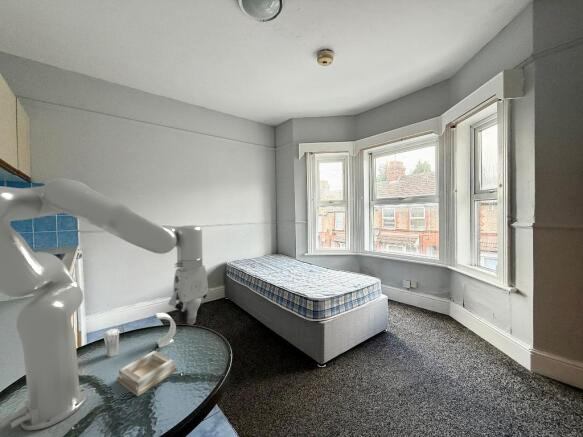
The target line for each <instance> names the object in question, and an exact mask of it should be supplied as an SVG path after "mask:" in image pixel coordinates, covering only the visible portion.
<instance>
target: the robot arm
mask: <svg viewBox="0 0 583 437" xmlns="http://www.w3.org/2000/svg"><path fill="white" fill-rule="evenodd" d="M60 214H66V215H68V216H70V217H73V218H75V219H78V220H81V221H83V222H85V223H88V224H90V225H92V226H95V227H98V228H100V229H102V230H104V231H106V232H107V233H110V234H111V235H113V236H116V237H117V238H120V239H121V240H123V241H125V242H127V243H129V244H131V245H133V246H136V247H138V248H142V249H144V250H146V251H149V252H151V253H153V254H157V255H158V254H160V255H163V254H167V253H169V252H172V250H173V249H174V248H175V247H176V255H177V256H176V259H177V260H176V263H174V264H173V267H174V268H177V269H175V273H174V279H173V288H172V291H173V295H172V296H171V298H170V300H169V301H168V305H169V306H171V307H172V308H175V309H176V310H178V320H179V322H181V323H184V324H186V323H187V310H185V309H186V305H187V302H189V301H192V300H194V299H196V298H199V297H201V304H200V306H199V308H198V310H197V315H198V316H203V311H204V310H203V303H205V299H206V297H207V295H208V294H209V293H210V291H211V289H210V287H209V286H208V285H209V284H208V276H207V270H206V267H205V265H203V230H202V229H203V228H202V227H201V226H198V225H182V226H173V225H160V224H157V223H155V222H152V221H151V220H149V219H146V218H144V217H143V216H141V215H139V214H137V213H135V212H134V211H133V210H132V209H130V208H129V207H128V206H127V205H126V204H125V203H123V202H120V201H118V200H116V199H114V198H112V197H109V196H107V195H105V194H103V193H100V192H98V191H96V190H94V189H92V188H91V187H89V186H88V185H87V184H85V183H84V182H81V181H78V180H73V179H70V178H65V177H64V178H63V177H60V178H55V179H52V180H49V181H47V182H46V183H45V184H44V185H40V186H33V187H32V186H31V187H24V188H21V187H10V186H0V292H1V293H2V294H3V295H5V296H7V297H12V298H21V297H26V296H28V295H31V294H32V295H33V296H34V298H33V299H30V300H29V301H28V302H27V303H26V304H25V305H23V307H22V308H21V310H20V311H19V312H18V315H17V316H16V324H15V325H16V326H15V327H16V330H17V333H18V336H19V338H20V341H21V345H22V351H23V352H22V353H23V358H24V368H25V379H26V389H27V400H26V401H25V402H24V403H23V404H24V406H23V407H21V408H19V409H18V411H17V412H15V413H12V414H10V415H8V416H6V417H4V418H2V419H0V429H1V430H3V429H4V428H6V427H8V426H10V428H11V429H13V428H16V427H18V426H19V425H20V427H21V428H22V429H23V430H25V431H39V430H42V429H45V428H49V427H52V426H53V425H55V424H57V423H60V422H62V421H64V420H65V419H67V418H69V417H70V416H72V415H73V414H74V413H75V412H76V411H78V410H79V409H80V408H81V407H83V405H84V404H85V402H86V400H87V397H88V390H87V389H86V388H84V387H82V386H80V381H79V380H80V379H79V370H78V369H79V368H78V367H79V366H78V354H77V343H76V342H77V341H76V334H75V330H74V327H73V325H72V324H73V323H72V316H73V315H74V313H75V312H76V311H77V310H78V309H79V308H80V306H81V304H82V303H83V300H84V293H83V290H82V289H81V287H80V285H79V283H78V282H77V281H76V279H75V278H74V276H73V275H72V274H71V272H70V270H69V269H68V267H67V265H65V263H64V262H63V261H62V260H61V258H60V257H58V256H56V255H54V254H52V253H49V252H44V251H43V252H41V251H39V252H38V251H37V252H34V250H32V248H31V247H30V245H29V244H28V242H27V240H26V239H25V238H24V237H23V236H22V235H21V234H20V232H18V231H17V230H15V229H14V228H13V227H12V225H11V222H15V221H26V220H32V219H37V218H43V217H47V216H55V215H60ZM197 315H196V316H197ZM187 324H188V323H187Z"/></svg>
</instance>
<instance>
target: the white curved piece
mask: <svg viewBox="0 0 583 437" xmlns="http://www.w3.org/2000/svg"><path fill="white" fill-rule="evenodd" d="M155 318H157V320H159V321H160V320H167V321H169V322H170V323H169V324H170V326H169V329H168V331H167V333H166V334H165V335H164V336H163V337H161V338H159V339H158V340H156V344H157V346H158V347H159V349H160V348H163V347H166V346H170V345H172V344H174V343H175V341H174V339H173V338H174V336H175V334H176V331H177V330H176V329H177V325H176V322H175V321H174V319H173V318H172V317H171V316H170V315H169V314H168V313H165V312H156V313H155Z"/></svg>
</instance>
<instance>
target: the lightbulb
mask: <svg viewBox="0 0 583 437" xmlns="http://www.w3.org/2000/svg"><path fill="white" fill-rule="evenodd" d="M200 304H201V297H199V298H196V299H194V300H192V301H189V302H187V305H186V309H185V310H187V324H188V325H190V326H193V325H194V324H195V323H197V322H196V321H197V320H196V319H197V310H198V308H199V306H200Z"/></svg>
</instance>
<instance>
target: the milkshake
mask: <svg viewBox="0 0 583 437" xmlns="http://www.w3.org/2000/svg"><path fill="white" fill-rule="evenodd" d="M103 339H104V344H105V350H106V355H107V357H108V358H112V357H115V356H116V355H118V354H119V343H120V342H119V339H120V328H111V329H108V330H106V331H105V333H104V334H103Z"/></svg>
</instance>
